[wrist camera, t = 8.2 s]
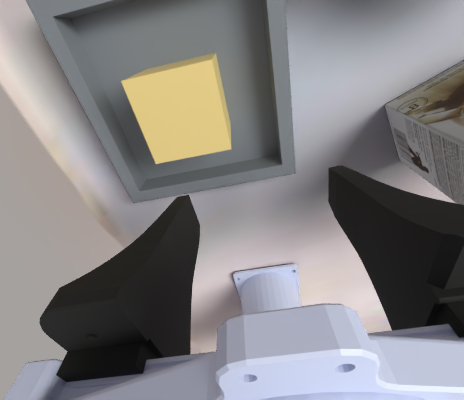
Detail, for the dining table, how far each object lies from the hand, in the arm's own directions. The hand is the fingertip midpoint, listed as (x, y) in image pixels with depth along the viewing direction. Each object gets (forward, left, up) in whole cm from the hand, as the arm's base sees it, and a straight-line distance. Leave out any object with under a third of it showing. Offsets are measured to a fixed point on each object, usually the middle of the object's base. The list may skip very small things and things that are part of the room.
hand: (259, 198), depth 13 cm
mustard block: (+4, +4, -9) cm, 10 cm away
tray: (+4, +4, -10) cm, 11 cm away
